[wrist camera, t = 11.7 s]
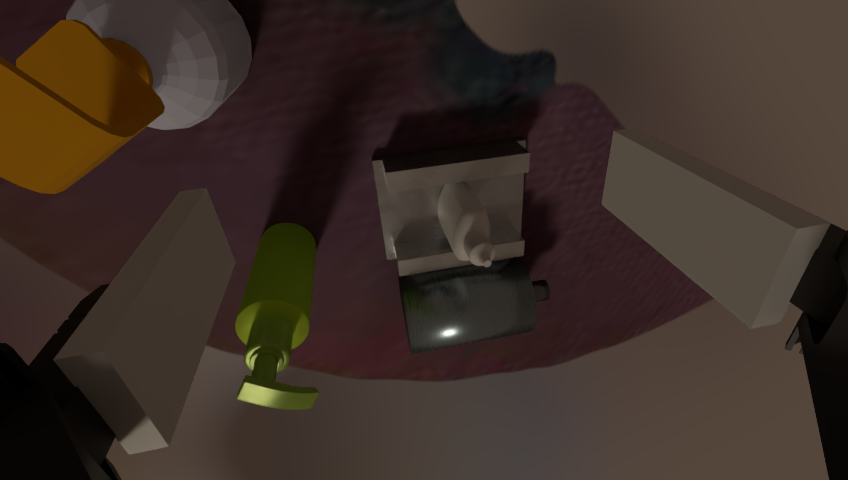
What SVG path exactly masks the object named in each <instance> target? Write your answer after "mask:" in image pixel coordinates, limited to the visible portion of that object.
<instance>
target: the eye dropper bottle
mask: <svg viewBox="0 0 848 480" xmlns="http://www.w3.org/2000/svg"><path fill="white" fill-rule="evenodd" d="M437 212H438V218H439V222H440V224H441V226H442V229H443V231H444V233H445V235H446V237H447V239H448V241H449V243H450V245H451V248H452V250H453V252H454V253H455V255H456V257H457V258H458V259H459V260H462V261H470V262H471V263H473V264H474V265H476V266H483V265H484V266H485V267H489V266H490V265H491V261H492V260H493V258H494V256H495V248H494V246H493V245H492V243H491V241H490V240H489V236H490V223H489V218H488V214H487V212H486V210H485V208H484V207H483V205H482V204H481V202H480V201H479V199H478V198H477V197H476V195H475V194H474V192H473V191H472V189H471V188H470V187H469V185H468V184H467V182H466V181H465V182H458V183H451V184H444V186H443V188H442V190H441V192H440V195H439V199H438V205H437Z"/></svg>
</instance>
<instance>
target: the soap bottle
mask: <svg viewBox="0 0 848 480" xmlns="http://www.w3.org/2000/svg"><path fill="white" fill-rule="evenodd" d="M251 61H252V51H251V38H250V36H249V33H248V31H247V28H246V26H245V24H244V21H243V19H242V17H241V16H240V14H239V13H238V12H237V11H236V9H235V8H234V7H233V6H232V4H231V3H230V2H229V1H228V0H75V1H74V2H73V4H72V6H71V7H70V9H69V10H68V13H67V16H66V20H60V21H59V22H58V23H57V24H56V25H55V26H54V27H53V28H51V29H50V30H49V31H48V32H47V33H46V34H45V35H44V36H43V37H41V38H40V39H39V40H38V41H37V42H36V43H35V44H34V45H33V46H31V47H30V48H29V49H28V50H27V51H26V52H25V53H24V54H22V55H21V56H20V57H19V58H18V59H17V60H16V66H14V65H13V64H11V63H10V62H8V61H6V60H5V59H3V58H2V57H0V177H2V178H4V179H6V180H8V181H10V182H12V183H14V184H16V185H18V186H21V187H24V188H27V189H30V190H33V191H36V192H39V193H48V194H56V193H59V192H62V191H64V190H66V189H67V188H68V187H70V186H71V185H72V184H74V183H75V182H76V181H78V180H79V179H80V178H82V177H83V176H84V175H86V174H87V173H88V172H90V171H91V170H92V169H94V168H95V167H96V166H98V165H99V164H100V163H102V162H103V161H104V160H105V159H107V158H108V157H109V156H110V155H112V154H113V153H114V152H115V151H117V150H118V149H119V148H120V147H122V146H123V145H124V144H125V143H127V142H128V141H129V140H130V139H132V138H133V137H134V136H135V135H137V134H138V133H139V132H140V131H142V130H143V129H144V128H145V127H152V128H157V129H162V130H170V129H180V128H189V127H191V126H193V125H195V124H197V123H199V122H201V121H203V120H205V119H207V118H209V117H210V116H211V115H212V114H213V113H214V112H215V111H216V110H217V109H218V108H219V107H220V106H221V105H222V103H223V102H224V101H225V100H226V99H227V98H228V97H229V96H230V95H231V94H232V93H233V92H234V91H235V90H236V89H237V88H238V87H239V85H240V84H241V83H242V82H243V81H244V79H245V78H246V77H247V74H248V71H249V68H250V64H251Z"/></svg>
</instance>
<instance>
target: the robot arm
mask: <svg viewBox="0 0 848 480" xmlns="http://www.w3.org/2000/svg"><path fill="white" fill-rule="evenodd" d="M602 205H603V206H604V207H606V208H607V209H608V210H609V211H610V212H612V213H613V214H614V215H615V216H616V217H617V218H619V219H620V220H621V221H622V222H623V223H625V224H626V225H627V226H628V227H629V228H631V229H632V230H633V231H634V232H635V233H637V234H638V235H639V236H640V237H641V238H643V239H644V240H645V241H646V242H647V243H649V244H650V245H651V246H652V247H653V248H655V249H656V250H657V251H658V252H659V253H661V254H662V255H663V256H664V257H665V258H667V259H668V260H669V261H670V262H671V263H673V264H674V265H675V266H676V267H677V268H679V269H680V270H681V271H682V272H683V273H685V274H686V275H687V276H688V277H689V278H690V279H692V280H693V281H694V282H695V283H696V284H698V285H699V286H700V287H701V288H702V289H704V290H705V291H706V292H707V293H708V294H710V295H711V296H712V297H713V298H714V299H716V300H717V301H718V302H719V303H720V304H722V305H723V306H724V307H725V308H726V309H728V310H729V311H730V312H731V313H733V314H734V315H735V316H736V317H737V318H738V319H740V320H741V321H742V322H743V323H744V324H746V325H747V326H748V327H749V328H750V329H753V328H757V327H763V326H767V325H772V324H778V323H780V321H781V320H782V317H783V316H784V314H785V312H786V310H787V308H788V306H789V304H790V302H791V303H792V304H794V305H795V306H797V307H798V308H799V309H801V310H802V311H803V313H802V315H801V317H800V319H799V320H798V322H797V324H796V326H795V328H794V330H793V331H792V334H791V335H790V337H789V339H788V341H787V342H786V346H785V349H786V350H790V351H791V349H792V347H793V346H794V344H796V343H799V342H801V345H802V348H801V350H800V352H799V353H801V354H803V355H804V360H805V365H806V369H807V374H808V379H809V384H810V389H811V394H812V399H813V404H814V408H815V413H816V418H817V423H818V428H819V432H820V437H821V442H822V447H823V452H824V457H825V462H826V466H827V471H828V476H829V480H848V230H847V231H845V230H843V229H841V228H839V227H837V226H835V225H833V224H831V223H830V222H827V221H826V220H823V219H821V218H819V217H817V216H815V215H813V214H811V213H809V212H807V211H805V210H803V209H801V208H799V207H797V206H794V205H793V204H791V203H788V202H786V201H784V200H782V199H780V198H778V197H776V196H774V195H772V194H770V193H768V192H766V191H764V190H762V189H760V188H758V187H755V186H754V185H752V184H749V183H747V182H745V181H743V180H741V179H739V178H737V177H735V176H733V175H731V174H729V173H727V172H725V171H723V170H720V169H719V168H716V167H714V166H712V165H710V164H708V163H706V162H704V161H702V160H700V159H698V158H696V157H694V156H692V155H690V154H688V153H686V152H684V151H682V150H679V149H677V148H675V147H673V146H671V145H669V144H667V143H665V142H663V141H661V140H659V139H657V138H654V137H653V136H651V135H649V134H647V133H644V132H642V131H640V130H638V129H636V128H631V129H624V130H617V131H614V133H613V139H612V145H611V151H610V157H609V163H608V169H607V175H606V180H605V186H604V192H603V198H602ZM234 265H235V260H234V257H233V255H232V252H231V250H230V247H229V245H228V242H227V240H226V237H225V234H224V232H223V229H222V227H221V224H220V222H219V219H218V217H217V214H216V212H215V209H214V206H213V204H212V201H211V199H210V196H209V194H208V191H207V189H206V188H203V189H195V190H188V191H181V192H179V193H178V195H177V196H176V197H175V199H174V200H173V201H172V203H171V204H170V205H169V207H168V208H167V209H166V211H165V212H164V213H163V215H162V216H161V217H160V219H159V220H158V221H157V222H156V224H155V225H154V226H153V228H152V229H151V230H150V232H149V233H148V234H147V236H146V237H145V238H144V240H143V241H142V242H141V244H140V245H139V246H138V248H137V249H136V250H135V252H134V253H133V254H132V256H131V257H130V258H129V260H128V261H127V262H126V264H125V265H124V266H123V268H122V269H121V270H120V272H119V273H118V274H117V276H116V277H115V278H114V280H113V281H112V282H111V284H106V285H101V286H100V287H99V288H97V289H96V290H95V291H93V292H92V293H91V294H89V295H88V296H87V297H85V298H84V299H83V300H81V301H80V303H79V304H78V305H77V307H76V308H75V309H74V310H73V311H72V313H71V314H70V315H69V317H68V318H69V319H68V320H65V321H64V323H63V324H62V325H61V326H60V328H59V329H58V330H57V331H58V333H57V334H54V335H53V336H52V338H51V339H50V340H49V341H48V342H47V344H46V345H45V346H44V347H43V349H42V350H41V351H40V352H39V354H38V355H37V356H36V357H35V359H34V360H33V361H32V362H31V364H30V365H29V366H28V365H27V364H26V363H25V362H24V361H23V359H22V358H21V357H20V356H19V355H18V354H17V352H16V351H15V350H14V349H13V348H12V347H11V346H9V345H8V344H6V343H0V480H121V478H120V476H119V474H118V473H117V471H116V469H115V467H114V466H113V464H112V463H111V462H110V461H109V460H108V459H107V458H106V455H107V453H108V451H109V449H110V447H111V445H112V443H113V440H114V438H116V439H117V440H118V442H119V443H120V444H121V445H122V447H123V448H124V449H125V450H126V452H127V453H128V454H134V453H139V452H144V451H149V450H154V449H159V448H164V447H169V445H170V442H171V439H172V437H173V434H174V431H175V428H176V425H177V423H178V420H179V417H180V414H181V412H182V409H183V406H184V403H185V400H186V398H187V395H188V392H189V390H190V387H191V384H192V381H193V379H194V376H195V373H196V370H197V368H198V365H199V362H200V359H201V356H202V353H203V351H204V348H205V345H206V343H207V340H208V337H209V334H210V332H211V329H212V326H213V323H214V321H215V318H216V315H217V312H218V310H219V307H220V304H221V301H222V299H223V296H224V293H225V290H226V287H227V285H228V282H229V279H230V276H231V274H232V271H233V268H234Z"/></svg>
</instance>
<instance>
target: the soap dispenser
mask: <svg viewBox="0 0 848 480" xmlns="http://www.w3.org/2000/svg"><path fill="white" fill-rule="evenodd" d="M315 253H316V243H315V239H314V237H313V236H312V234H311V233H310V232H309V231H308V230H307V229H306V228H304V227H302V226H300V225H298V224H294V223H279V224H276V225H273V226H271V227H270V228H268V229H267V230H266V231H265V232H264V233H263V235H262V237H261V240H260V243H259V246H258V250H257V253H256V256H255V259H254V263H253V266H252V269H251V273H250V276H249V279H248V283H247V286H246V289H245V292H244V296H243V299H242V302H241V306H240V309H239V312H238V316H237V319H236V323H235V329H236V333H237V335H238V337H239V338H240V340H241V341H242V342H243V343H244V344H246V349H245V353H244V362H245V365H246V366H247V367H248V368H249V369H250V370H252V376H248V375H246V376H245V378H244V380H243V383H242V385H241V387H240V389H239V391H238V395H237V400H241V401H245V402H250V403H253V404H257V405H261V406H266V407H271V408H277V409H289V410H301V409H310V408H311V407H312V406H313V404H314V402H315V400H316V399H317V397H318V395H319V391H318V390H317V389H316V388H314V387H297V386H290V385H285V384H281V383H277V382H275V379H276V373H278V372H280V371H282V370H283V369H285V368H286V367H287V365H288V364H289V361H290V356H291V349H293V348H295V347H297V346H299V345H300V344H301V343H302V342H303V341H304V340H305V339H306V337H307V335H308V332H309V326H310V314H311V302H312V290H313V278H314V265H315Z"/></svg>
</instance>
